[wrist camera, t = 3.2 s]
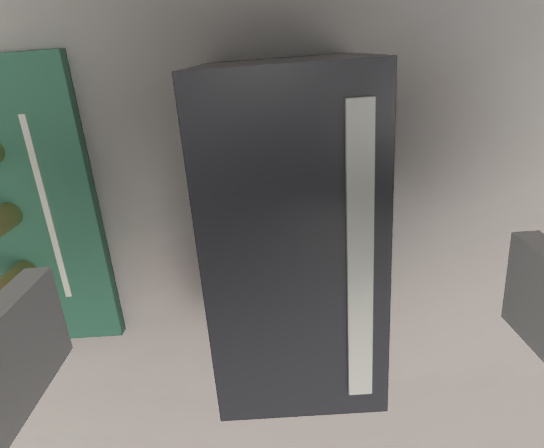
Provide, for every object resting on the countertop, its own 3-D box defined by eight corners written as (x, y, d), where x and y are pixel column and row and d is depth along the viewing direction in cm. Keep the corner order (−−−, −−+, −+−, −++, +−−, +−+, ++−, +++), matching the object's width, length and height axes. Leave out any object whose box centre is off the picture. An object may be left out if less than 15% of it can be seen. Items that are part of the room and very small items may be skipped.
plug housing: (208, 63, 20) (170, 72, 12) (347, 52, 20) (399, 55, 12) (235, 305, 24) (220, 425, 16) (349, 297, 24) (388, 415, 16)
